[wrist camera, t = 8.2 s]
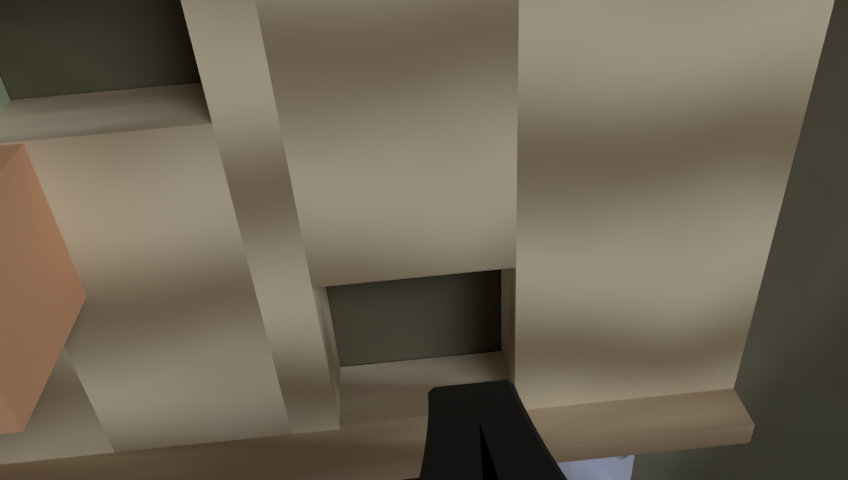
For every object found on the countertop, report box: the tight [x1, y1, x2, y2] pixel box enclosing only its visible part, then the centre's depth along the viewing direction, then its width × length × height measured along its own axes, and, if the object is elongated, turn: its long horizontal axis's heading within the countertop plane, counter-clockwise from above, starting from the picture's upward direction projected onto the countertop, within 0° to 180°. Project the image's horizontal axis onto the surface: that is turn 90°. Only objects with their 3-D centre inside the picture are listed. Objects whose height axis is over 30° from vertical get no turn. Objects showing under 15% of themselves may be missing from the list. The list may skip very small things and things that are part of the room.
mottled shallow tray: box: [0, 0, 835, 480], centre depth 18 cm, size 18×24×4 cm
